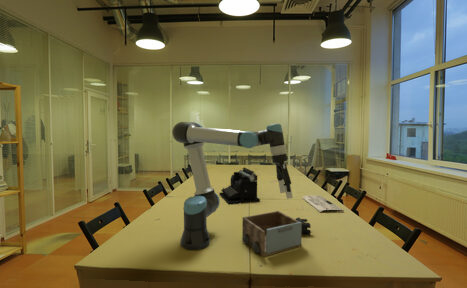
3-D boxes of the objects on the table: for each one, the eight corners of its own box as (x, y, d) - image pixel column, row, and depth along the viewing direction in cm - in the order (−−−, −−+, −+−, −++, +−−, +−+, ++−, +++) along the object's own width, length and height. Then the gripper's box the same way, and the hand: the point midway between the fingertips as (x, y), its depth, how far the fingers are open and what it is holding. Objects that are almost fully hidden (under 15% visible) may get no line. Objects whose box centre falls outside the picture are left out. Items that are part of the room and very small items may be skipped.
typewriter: (219, 194, 212) (219, 168, 211) (246, 192, 220) (246, 166, 219) (228, 204, 183) (228, 173, 181) (259, 201, 191) (260, 172, 189)
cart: (240, 239, 123) (240, 217, 123) (279, 230, 135) (279, 210, 134) (260, 257, 106) (260, 232, 105) (303, 245, 117) (303, 222, 117)
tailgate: (266, 252, 107) (266, 229, 106) (299, 243, 116) (299, 221, 115) (268, 254, 105) (268, 230, 104) (301, 244, 114) (302, 223, 113)
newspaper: (343, 213, 166) (343, 209, 166) (317, 213, 165) (318, 209, 164) (321, 198, 203) (321, 195, 202) (299, 198, 201) (299, 195, 201)
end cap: (294, 228, 139) (294, 217, 138) (305, 228, 138) (306, 217, 138) (297, 235, 129) (298, 223, 128) (310, 235, 128) (310, 224, 128)
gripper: (292, 153, 104) (301, 199, 104) (280, 152, 129) (287, 189, 129) (276, 156, 104) (284, 202, 103) (267, 154, 129) (274, 191, 128)
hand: (286, 195), depth 116 cm, fingers open, 13 cm apart
